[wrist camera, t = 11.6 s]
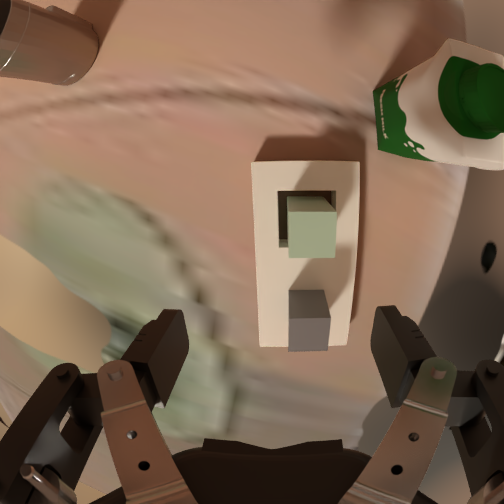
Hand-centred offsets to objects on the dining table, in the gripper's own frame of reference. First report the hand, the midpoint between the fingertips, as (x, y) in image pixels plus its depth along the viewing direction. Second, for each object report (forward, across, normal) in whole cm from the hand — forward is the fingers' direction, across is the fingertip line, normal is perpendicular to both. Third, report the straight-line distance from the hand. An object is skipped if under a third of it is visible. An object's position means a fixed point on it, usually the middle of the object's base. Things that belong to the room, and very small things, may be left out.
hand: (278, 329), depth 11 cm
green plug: (+22, -3, 0) cm, 23 cm away
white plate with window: (+22, -3, +5) cm, 23 cm away
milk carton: (+23, -15, -11) cm, 29 cm away
